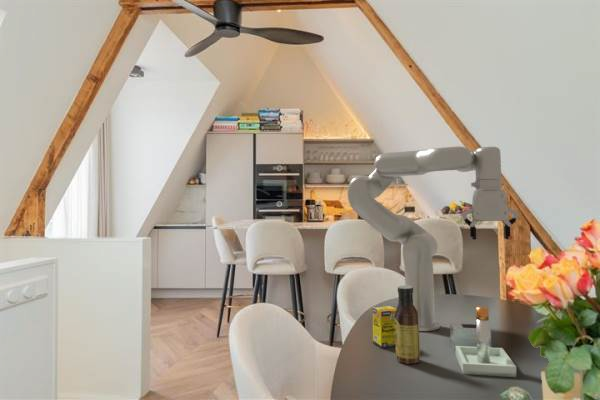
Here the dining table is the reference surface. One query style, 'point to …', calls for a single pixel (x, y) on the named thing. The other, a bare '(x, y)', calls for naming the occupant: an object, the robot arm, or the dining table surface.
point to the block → (464, 334)
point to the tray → (497, 366)
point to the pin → (482, 334)
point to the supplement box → (384, 326)
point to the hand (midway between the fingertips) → (490, 239)
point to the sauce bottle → (406, 327)
